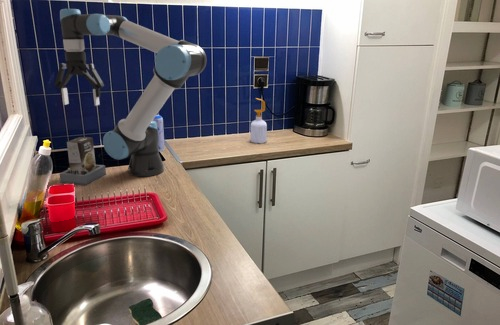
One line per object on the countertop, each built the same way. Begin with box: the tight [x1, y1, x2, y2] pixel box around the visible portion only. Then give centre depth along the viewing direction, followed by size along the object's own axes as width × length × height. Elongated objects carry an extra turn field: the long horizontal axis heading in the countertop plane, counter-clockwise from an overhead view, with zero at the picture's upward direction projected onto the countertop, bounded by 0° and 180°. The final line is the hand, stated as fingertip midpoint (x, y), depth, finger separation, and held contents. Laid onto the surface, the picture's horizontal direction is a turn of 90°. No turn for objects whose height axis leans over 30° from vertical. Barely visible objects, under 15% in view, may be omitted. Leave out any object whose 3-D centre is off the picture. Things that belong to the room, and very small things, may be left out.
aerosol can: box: [153, 113, 166, 153], centre depth 211 cm, size 8×8×20 cm
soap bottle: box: [250, 97, 268, 144], centre depth 228 cm, size 9×9×25 cm
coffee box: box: [66, 136, 97, 175], centre depth 169 cm, size 9×6×16 cm
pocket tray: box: [59, 164, 107, 186], centre depth 171 cm, size 12×14×4 cm
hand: (81, 104), depth 167 cm, fingers open, 13 cm apart
